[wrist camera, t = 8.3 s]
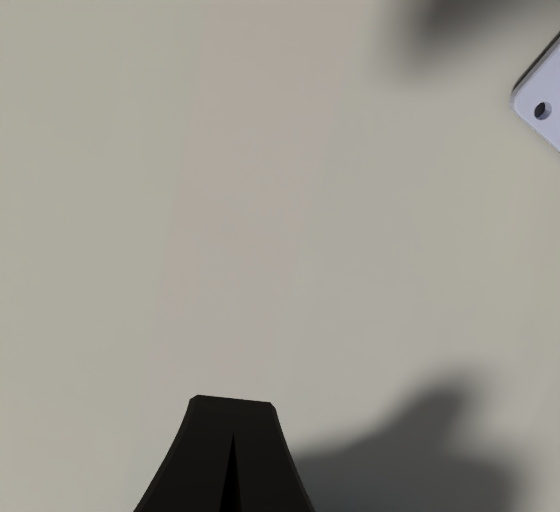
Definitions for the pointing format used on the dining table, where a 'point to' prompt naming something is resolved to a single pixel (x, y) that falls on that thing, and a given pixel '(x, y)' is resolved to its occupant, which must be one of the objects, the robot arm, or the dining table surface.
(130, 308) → the dining table surface
